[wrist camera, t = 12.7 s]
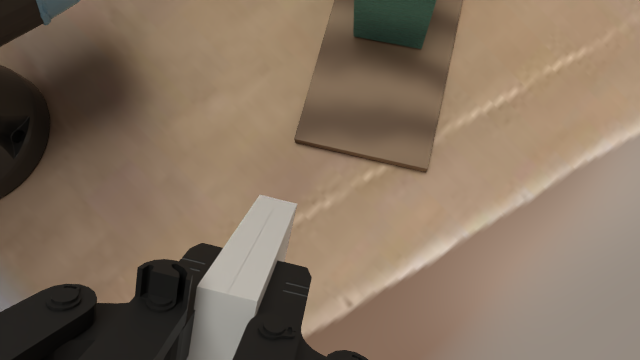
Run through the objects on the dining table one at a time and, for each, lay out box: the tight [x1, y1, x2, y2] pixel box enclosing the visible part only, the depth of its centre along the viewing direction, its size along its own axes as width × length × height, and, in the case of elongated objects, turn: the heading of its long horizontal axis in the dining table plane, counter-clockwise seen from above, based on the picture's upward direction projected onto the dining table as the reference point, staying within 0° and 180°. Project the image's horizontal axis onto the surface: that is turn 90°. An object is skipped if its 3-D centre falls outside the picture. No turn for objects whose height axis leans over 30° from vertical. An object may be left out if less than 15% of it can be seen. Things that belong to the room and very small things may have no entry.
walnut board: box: [294, 0, 463, 172], centre depth 44 cm, size 33×13×1 cm, turn 165°
